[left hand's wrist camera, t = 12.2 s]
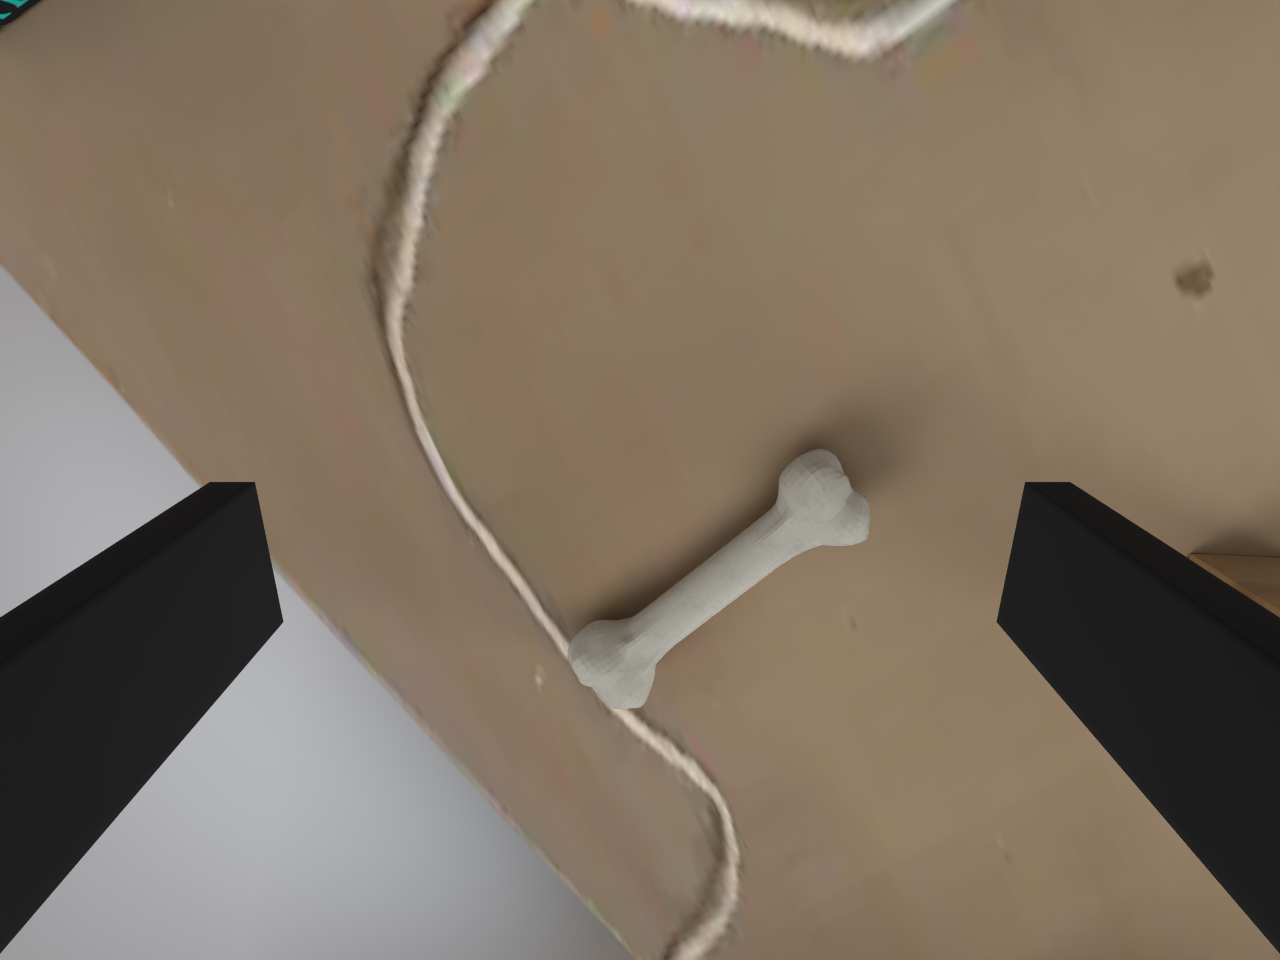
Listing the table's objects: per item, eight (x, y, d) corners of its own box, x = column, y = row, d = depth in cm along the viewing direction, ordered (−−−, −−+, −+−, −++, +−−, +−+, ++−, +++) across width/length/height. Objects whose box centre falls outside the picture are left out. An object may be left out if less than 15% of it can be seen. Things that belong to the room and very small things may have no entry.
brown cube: (1254, 661, 47) (1372, 747, 40) (1153, 657, 47) (1252, 742, 40) (1297, 557, 45) (1432, 628, 37) (1189, 553, 45) (1303, 623, 37)
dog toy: (623, 689, 48) (622, 741, 43) (559, 630, 46) (550, 678, 41) (873, 499, 43) (902, 535, 38) (811, 427, 41) (834, 454, 37)
